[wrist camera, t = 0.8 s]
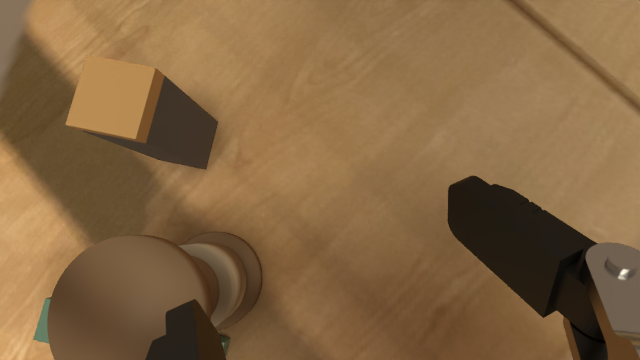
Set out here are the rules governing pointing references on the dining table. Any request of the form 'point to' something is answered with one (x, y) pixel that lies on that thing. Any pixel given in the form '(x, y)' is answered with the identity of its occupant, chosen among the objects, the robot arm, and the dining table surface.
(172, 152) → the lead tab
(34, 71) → the dining table surface
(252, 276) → the bobbin
